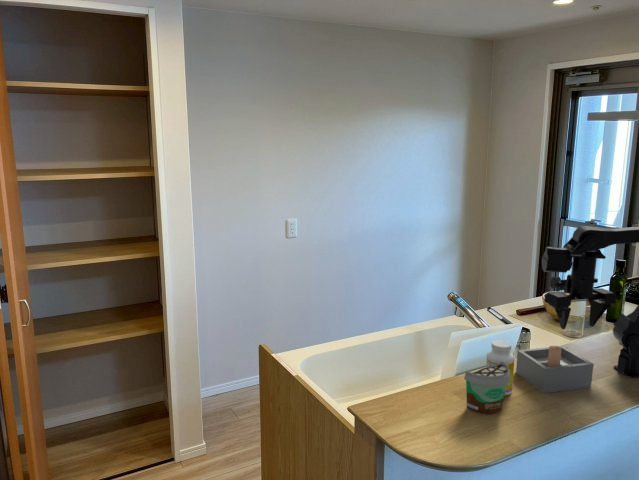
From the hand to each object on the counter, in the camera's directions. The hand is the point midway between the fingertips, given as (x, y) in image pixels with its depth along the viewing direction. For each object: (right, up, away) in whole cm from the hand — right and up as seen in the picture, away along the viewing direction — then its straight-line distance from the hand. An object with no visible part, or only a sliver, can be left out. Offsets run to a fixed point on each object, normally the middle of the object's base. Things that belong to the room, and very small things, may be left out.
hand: (577, 327), depth 143 cm
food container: (-31, -17, -20) cm, 40 cm away
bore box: (-9, -13, -5) cm, 17 cm away
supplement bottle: (-26, -15, -11) cm, 31 cm away
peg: (-9, -12, -5) cm, 16 cm away
